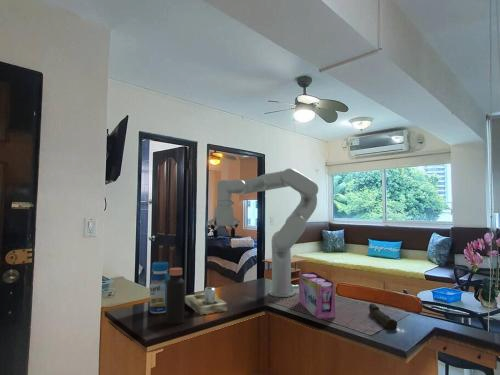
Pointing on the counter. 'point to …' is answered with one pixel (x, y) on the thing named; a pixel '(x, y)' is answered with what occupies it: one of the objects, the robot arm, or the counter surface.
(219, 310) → the jig plate
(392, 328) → the hand tool
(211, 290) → the steel sleeve
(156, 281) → the beverage bottle
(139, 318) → the counter surface
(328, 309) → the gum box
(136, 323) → the counter surface
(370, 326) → the counter surface
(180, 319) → the vinegar
